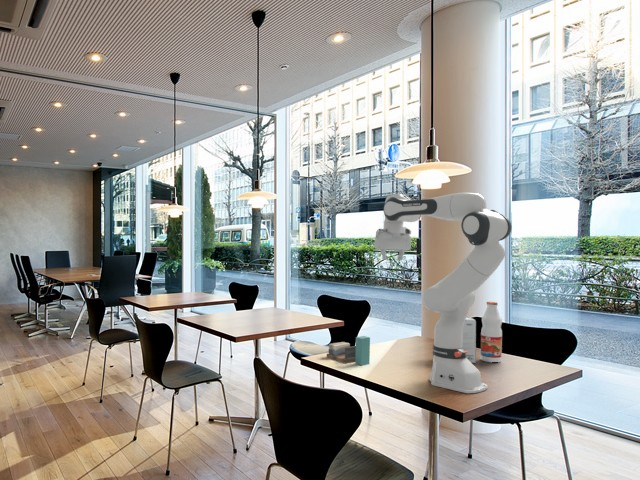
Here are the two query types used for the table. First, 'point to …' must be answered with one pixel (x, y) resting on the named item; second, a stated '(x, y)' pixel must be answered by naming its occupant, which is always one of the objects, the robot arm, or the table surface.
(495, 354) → the fruit juice
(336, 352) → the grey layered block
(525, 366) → the table surface
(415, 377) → the table surface
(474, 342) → the hard drive box
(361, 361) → the teal rectangular block
